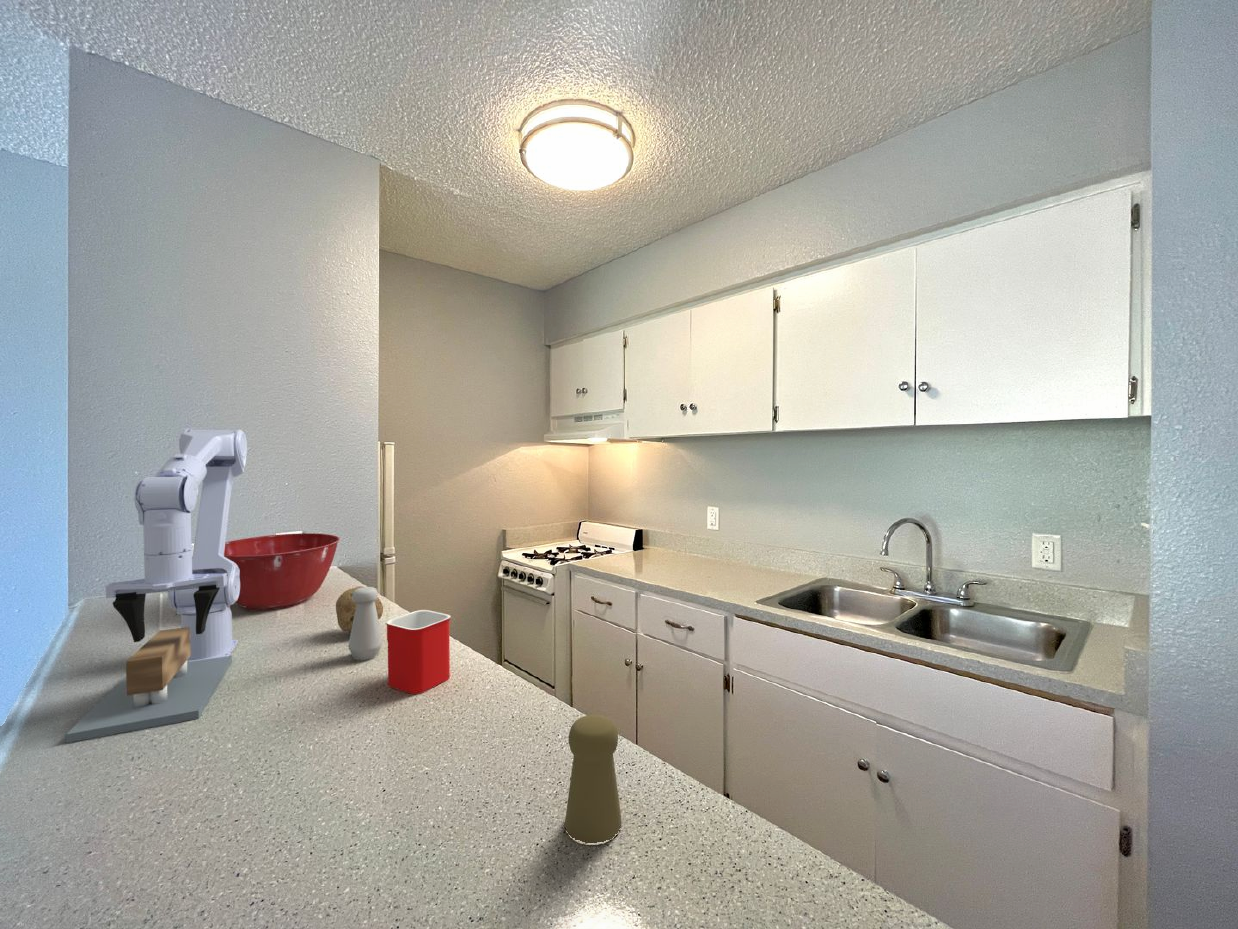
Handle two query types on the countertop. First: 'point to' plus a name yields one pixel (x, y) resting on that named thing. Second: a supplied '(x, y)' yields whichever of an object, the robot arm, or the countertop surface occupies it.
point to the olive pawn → (593, 781)
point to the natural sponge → (351, 609)
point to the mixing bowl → (281, 568)
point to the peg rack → (154, 702)
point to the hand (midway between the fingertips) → (170, 636)
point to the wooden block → (158, 661)
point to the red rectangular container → (418, 651)
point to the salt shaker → (365, 625)
